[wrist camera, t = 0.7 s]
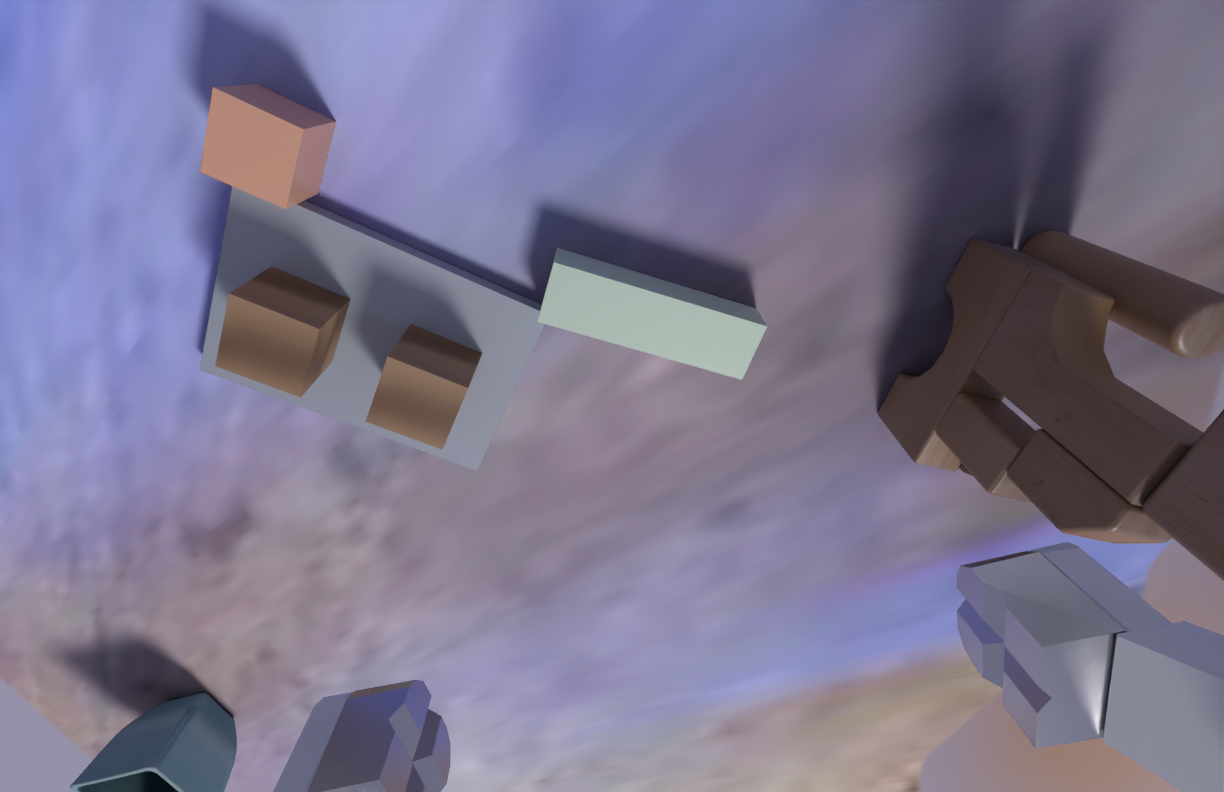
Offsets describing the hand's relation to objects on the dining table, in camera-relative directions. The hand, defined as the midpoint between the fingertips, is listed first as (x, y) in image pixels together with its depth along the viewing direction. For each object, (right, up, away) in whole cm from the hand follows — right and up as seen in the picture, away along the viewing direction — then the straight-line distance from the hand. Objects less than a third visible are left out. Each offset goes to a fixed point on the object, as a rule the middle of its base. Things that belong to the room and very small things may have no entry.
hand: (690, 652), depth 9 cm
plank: (+1, +10, +32) cm, 34 cm away
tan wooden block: (-21, +9, +31) cm, 39 cm away
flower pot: (-43, -28, +53) cm, 73 cm away
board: (-17, +8, +33) cm, 38 cm away
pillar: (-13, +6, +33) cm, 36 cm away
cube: (-20, +19, +27) cm, 39 cm away
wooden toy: (+24, +8, +33) cm, 42 cm away
